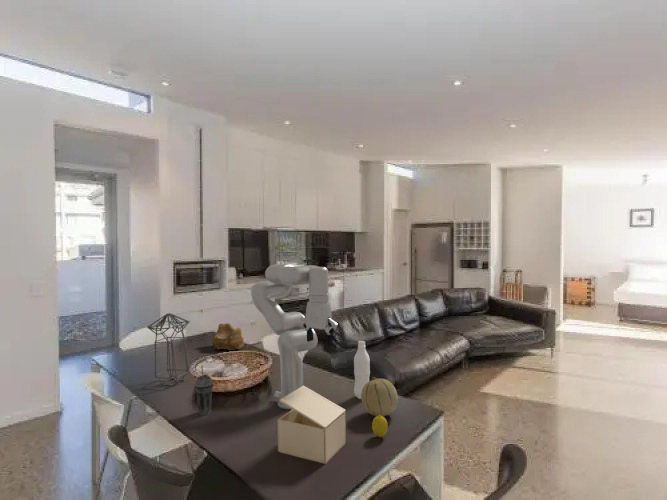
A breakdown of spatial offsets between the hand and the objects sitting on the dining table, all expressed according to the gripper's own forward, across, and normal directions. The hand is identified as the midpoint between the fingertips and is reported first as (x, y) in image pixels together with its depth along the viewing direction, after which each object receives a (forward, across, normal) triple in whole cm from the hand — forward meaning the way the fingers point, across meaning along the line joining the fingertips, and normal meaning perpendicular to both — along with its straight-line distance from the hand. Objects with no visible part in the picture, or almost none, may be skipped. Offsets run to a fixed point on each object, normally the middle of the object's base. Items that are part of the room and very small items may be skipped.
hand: (319, 342), depth 171 cm
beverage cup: (+31, -43, -23) cm, 58 cm away
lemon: (+31, +26, +1) cm, 41 cm away
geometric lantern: (+31, -88, -10) cm, 94 cm away
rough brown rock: (+31, -120, +48) cm, 133 cm away
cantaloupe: (+31, +16, +18) cm, 39 cm away
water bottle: (+31, -1, +30) cm, 43 cm away
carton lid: (+16, +13, -19) cm, 28 cm away
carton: (+31, +12, -19) cm, 38 cm away
